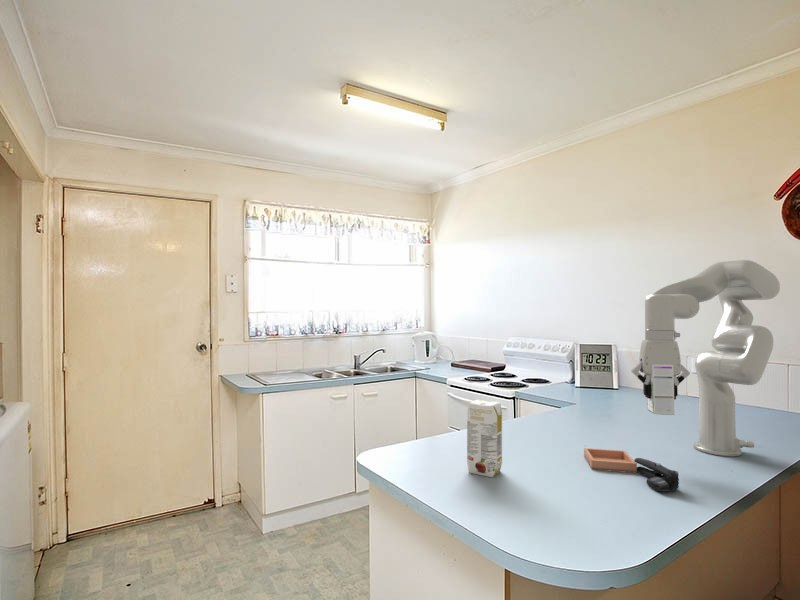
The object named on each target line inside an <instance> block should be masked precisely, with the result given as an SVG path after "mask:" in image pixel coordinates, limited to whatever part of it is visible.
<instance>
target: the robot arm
mask: <svg viewBox="0 0 800 600" xmlns="http://www.w3.org/2000/svg"><path fill="white" fill-rule="evenodd" d="M780 290H781V284H780V281H779V279H778V277H777V276H776V275H775V274H774V273H773V272H772V271H770V270H768V269H767V268H766V267H764V266H763V265H761V264H760V263H758V262H755V261H753V260H750V259H741V260H729V261H720V262H715V263H712V264H710V265H709V266H707V267H705V269H702V271H700V272H698V273H697V274H695V275H694V276H693V277H690V278H685V279H683V280H679V281H677V282H673V283H671V284H669V285H666V286H663V287H661V288H659V289H658V290H656V291H655V292H653V293H651V294H647V295H646V297H645V299H644V336H645V337H644V340H642V341H641V344H640V350H639V361H638V364H636V365H635V366H634V367H633V368H632V369H631V371H630V372H631V373H632V375H634V376H635V377H636V378H637V379H638V380H639V381H641V383H642V384H643V385H642V386H643V395H644V396H645V398H646V399H647V398H649V399H650V398H651V385H650V383H649V382H650V380H651V374H652V364H671V365H673V374H674V401H675V400H677V397H678V391H679V390H678V387H679V385H680V384H681V383H682V382H683V381H684V380H685V379H686V378H688V376H690V374H691V373H690V371H688V369H687V368H686V367H685V366H683V364H682V363H681V362H682V361H681V354H680V353H681V352H680V349H679V343H678V341H676V339H677V338H680V337H681V333H680V332H677V331H676V330H675V329H676V328H675V324H676V323H675V320H690V319H692V318H694V317H695V316H696V315H697V314H698V313H699V311H700V303H703V302H707V301H711V300H712V299H714V298H715V297H716V296H717V297H718V299H719V302H720V306H721V311H722V312H721V315H720V319H719V321H718V323H717V326H716V327H715V330H714V332H713V334H712V338H711V346H712V348H713V349H714V350H708V351H707V350H706V351H703V352H701V353H699V354H698V355H697V356H696V358H695V359H694V360H695V362H694V367H695V371H696V373H695V374H696V378H697V382H698V400H699V401H698V404H699V405H698V410H699V411H698V413H699V414H698V417H699V418H698V421H699V424H698V425H699V427H698V428H699V430H698V431H699V432H698V433H699V441H695V442H694V443H693V447H694V449H696V450H697V451H700V452H702V453H706V454H711V455H716V456H722V457H738V456H741V455H743V450H742V448H748V449H749V448H750V449H754V448H755V443H754V441H751V440H749V441H748V440H745V439H739V438H737V436H736V435H737V433H736V431H737V430H736V395H735V393H734V390H733V389H732V387H731V386H730V385H729V384H735V385H743V386H753V385H756V384H758V383H759V382H760V381H761V379H762V377H763V375H764V372H765V370H766V367H767V364H768V363H769V359H770V357H771V354H772V351H773V349H774V337H773V333H772V332H771V330H770V329H768V327H766V326H762V325H754V324H753V321H754V315H753V314H752V312H751V310H750V309H749V308H748V307H747V306H746V305H745V304H744V302H743V301H759V300H760V301H767V300H771V299H774V298H775V297H777V295H778V294H779V293H780ZM752 324H753V325H752ZM641 373H643V375H642V374H641Z"/></svg>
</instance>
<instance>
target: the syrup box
mask: <svg viewBox="0 0 800 600" xmlns="http://www.w3.org/2000/svg"><path fill="white" fill-rule="evenodd" d="M649 383H650V385H651V398H650V399H649V398H647V397H646V401H647V403H646V406H647V408H646V410H647V411H649V412H650V413H652V414H653V415H661V416H662V415H663V416H675V400H674V374H673V365H671V364H652V374H651V380H650V382H649Z"/></svg>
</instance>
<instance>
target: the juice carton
mask: <svg viewBox="0 0 800 600" xmlns="http://www.w3.org/2000/svg"><path fill="white" fill-rule="evenodd" d="M502 410H503V409H502V404H501V402H499V401H486V400H483V399H482V400H481V399H475V400H473V401H470V402H469V403H468V405H467V410H466V411H467V412H466V421H467V422H466V423H467V424H466V426H467V427H466V462H467V470H468V473H470V474H472V475H473V474H474V475H477V476H479V475H480V476H484V477H487V478H494V477H495V476H496V475H497V474H498V473H500V472H501V468H502V463H503V411H502Z"/></svg>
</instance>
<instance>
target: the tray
mask: <svg viewBox="0 0 800 600" xmlns="http://www.w3.org/2000/svg"><path fill="white" fill-rule="evenodd" d="M583 457H584V459H585V461H586V462H587V463H588V466H589V467H590V469H591V470H594V469H595V470H597V471H598V470H599V471H607V470H611V472H620V471H625V472H624V473H633V472H637V473H638V471H637V467H638V463H636V462H635V461H634V460H635V459H634V458H633V457H631V455H630V454H628V452H627V451H626V450H615V449H607V448H606V449H604V448H588V447H583ZM595 470H594V471H595Z"/></svg>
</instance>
